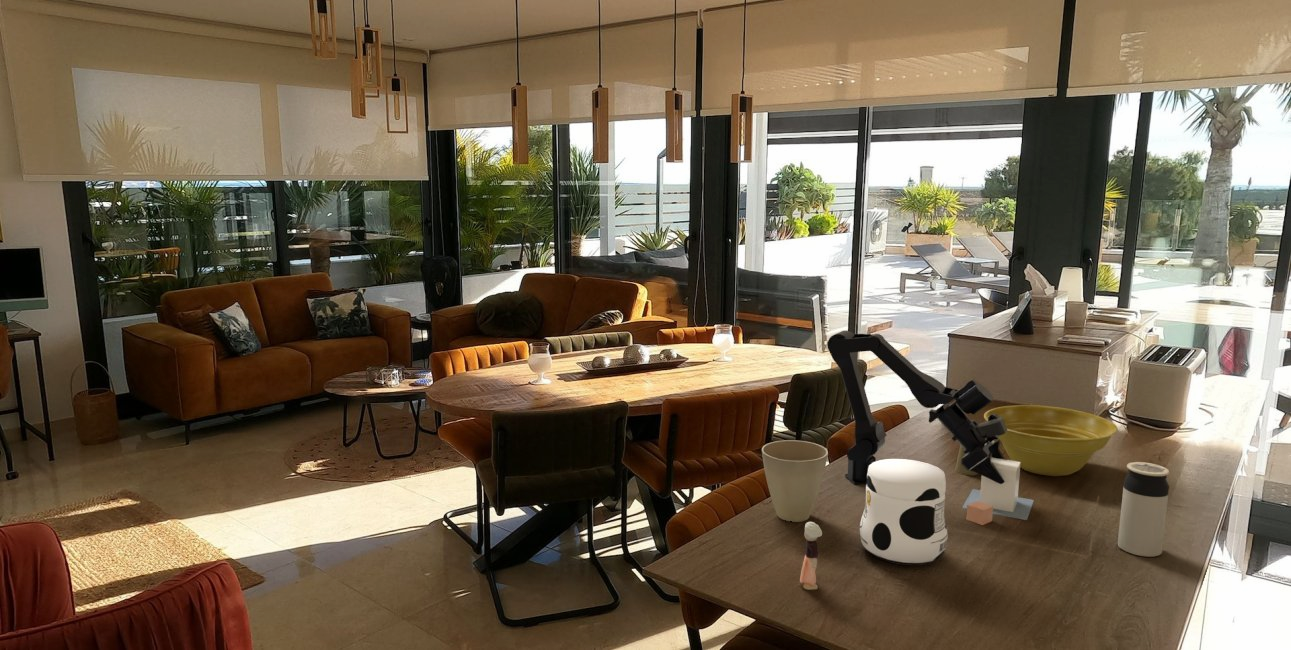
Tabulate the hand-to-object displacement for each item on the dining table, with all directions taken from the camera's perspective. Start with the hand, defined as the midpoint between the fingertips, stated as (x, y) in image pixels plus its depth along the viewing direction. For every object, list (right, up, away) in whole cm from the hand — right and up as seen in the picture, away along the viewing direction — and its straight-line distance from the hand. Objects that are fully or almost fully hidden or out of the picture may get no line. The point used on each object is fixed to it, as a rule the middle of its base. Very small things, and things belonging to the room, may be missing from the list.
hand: (1005, 477), depth 194 cm
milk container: (-32, -12, -23) cm, 41 cm away
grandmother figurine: (-54, -14, -37) cm, 67 cm away
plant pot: (-51, -8, -4) cm, 52 cm away
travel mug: (+18, -11, -22) cm, 31 cm away
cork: (0, -4, +24) cm, 24 cm away
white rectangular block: (-1, -7, +2) cm, 7 cm away
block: (-10, -9, -8) cm, 15 cm away
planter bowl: (+23, -3, +28) cm, 36 cm away
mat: (-1, -7, +2) cm, 7 cm away
